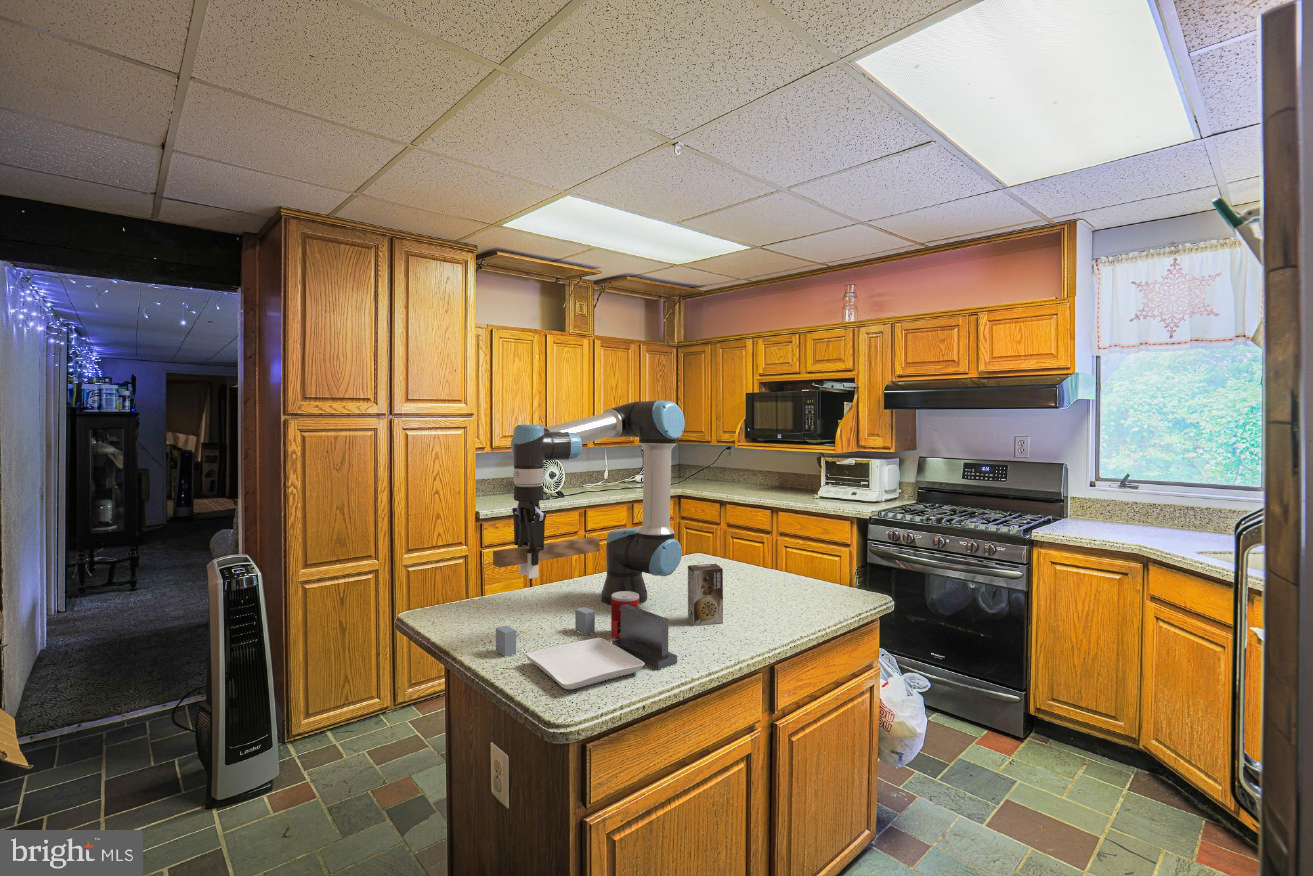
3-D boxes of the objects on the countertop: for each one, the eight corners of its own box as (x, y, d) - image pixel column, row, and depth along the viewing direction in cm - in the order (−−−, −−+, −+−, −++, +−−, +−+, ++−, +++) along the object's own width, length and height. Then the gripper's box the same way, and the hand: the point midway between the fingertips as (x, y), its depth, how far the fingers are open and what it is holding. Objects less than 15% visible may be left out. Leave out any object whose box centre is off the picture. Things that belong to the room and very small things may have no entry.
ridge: (630, 643, 163) (630, 601, 163) (677, 663, 149) (677, 618, 149) (612, 648, 159) (612, 606, 159) (658, 670, 145) (658, 623, 145)
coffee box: (716, 616, 186) (716, 563, 185) (723, 623, 179) (724, 568, 179) (686, 619, 183) (687, 564, 183) (693, 626, 177) (693, 569, 177)
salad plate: (647, 676, 143) (647, 661, 143) (564, 699, 130) (564, 683, 130) (600, 648, 160) (600, 635, 160) (523, 667, 148) (523, 652, 148)
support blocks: (584, 628, 174) (584, 607, 174) (594, 633, 171) (594, 611, 171) (495, 651, 157) (495, 627, 157) (505, 657, 153) (505, 633, 153)
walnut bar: (592, 549, 174) (592, 536, 174) (599, 551, 171) (599, 538, 171) (493, 565, 154) (492, 551, 154) (499, 567, 152) (499, 553, 152)
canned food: (618, 641, 164) (618, 600, 164) (606, 632, 171) (606, 593, 171) (644, 637, 168) (644, 596, 167) (631, 628, 175) (631, 589, 174)
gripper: (500, 483, 162) (500, 572, 163) (532, 488, 150) (532, 585, 150) (525, 481, 167) (525, 567, 168) (558, 486, 155) (558, 579, 155)
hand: (528, 575), depth 159 cm, fingers closed on walnut bar, 3 cm apart
